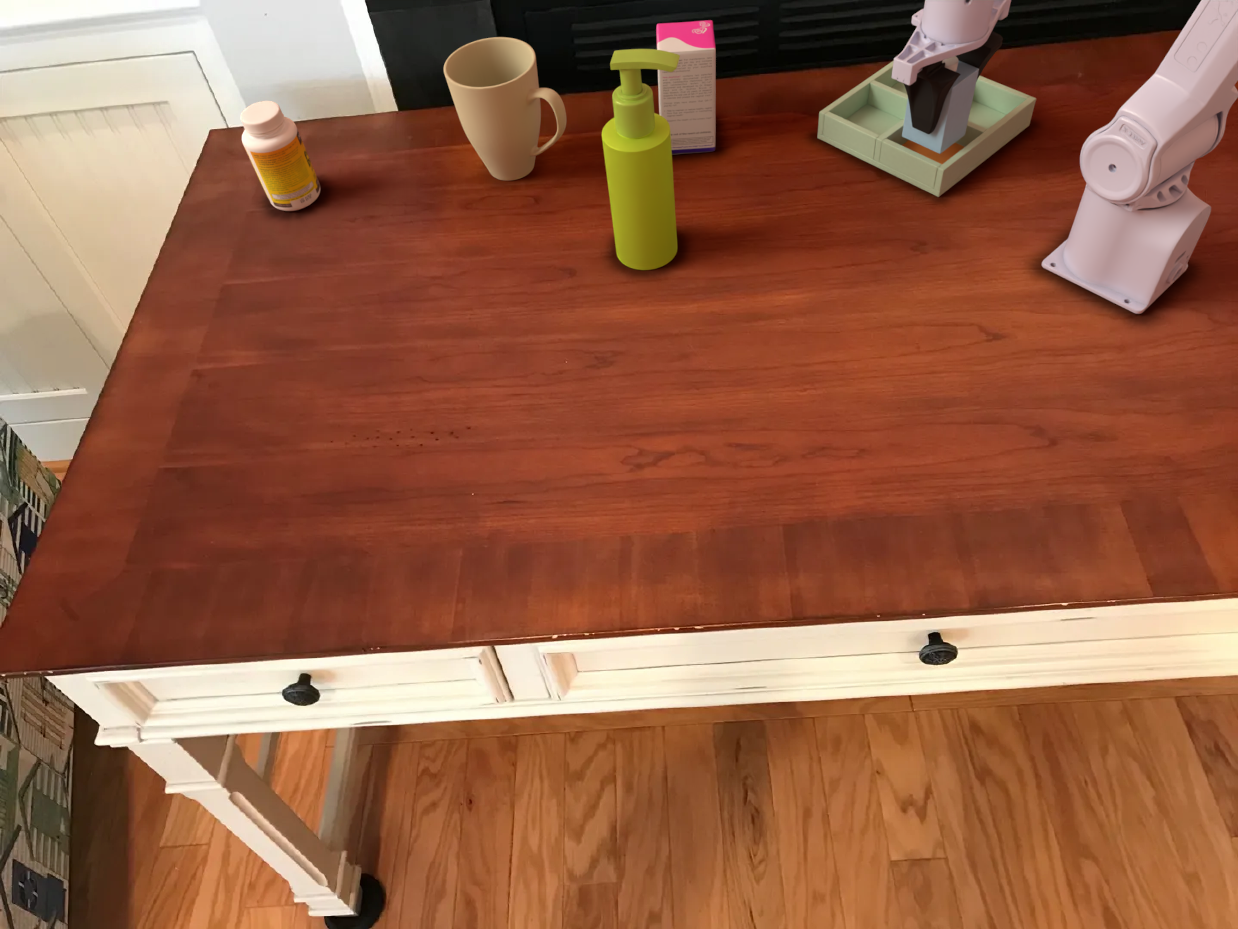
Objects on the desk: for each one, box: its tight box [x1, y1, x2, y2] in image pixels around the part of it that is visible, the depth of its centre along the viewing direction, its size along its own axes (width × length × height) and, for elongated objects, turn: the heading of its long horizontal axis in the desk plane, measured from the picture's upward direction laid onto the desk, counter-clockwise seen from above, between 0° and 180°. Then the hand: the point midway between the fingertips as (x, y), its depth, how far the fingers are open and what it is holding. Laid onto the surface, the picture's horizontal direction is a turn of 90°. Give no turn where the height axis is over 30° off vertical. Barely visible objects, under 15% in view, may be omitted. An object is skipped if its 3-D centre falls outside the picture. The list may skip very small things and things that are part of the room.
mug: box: [443, 36, 567, 182], centre depth 99 cm, size 11×10×12 cm
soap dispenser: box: [601, 48, 680, 271], centre depth 86 cm, size 6×7×20 cm
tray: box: [816, 60, 1037, 198], centre depth 100 cm, size 15×15×3 cm
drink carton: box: [902, 56, 979, 154], centre depth 93 cm, size 4×4×8 cm
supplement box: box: [655, 19, 717, 156], centre depth 100 cm, size 6×6×12 cm
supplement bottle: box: [240, 100, 322, 212], centre depth 101 cm, size 6×6×10 cm
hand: (937, 117), depth 94 cm, fingers closed on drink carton, 4 cm apart
